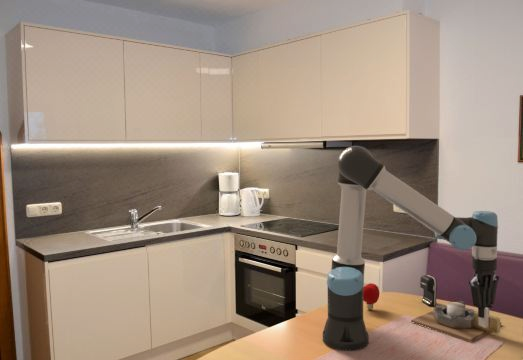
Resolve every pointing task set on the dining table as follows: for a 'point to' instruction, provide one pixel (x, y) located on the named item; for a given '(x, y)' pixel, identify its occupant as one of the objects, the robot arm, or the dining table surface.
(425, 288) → the battery charger
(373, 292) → the light bulb
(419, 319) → the mount plate
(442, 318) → the ring nut
